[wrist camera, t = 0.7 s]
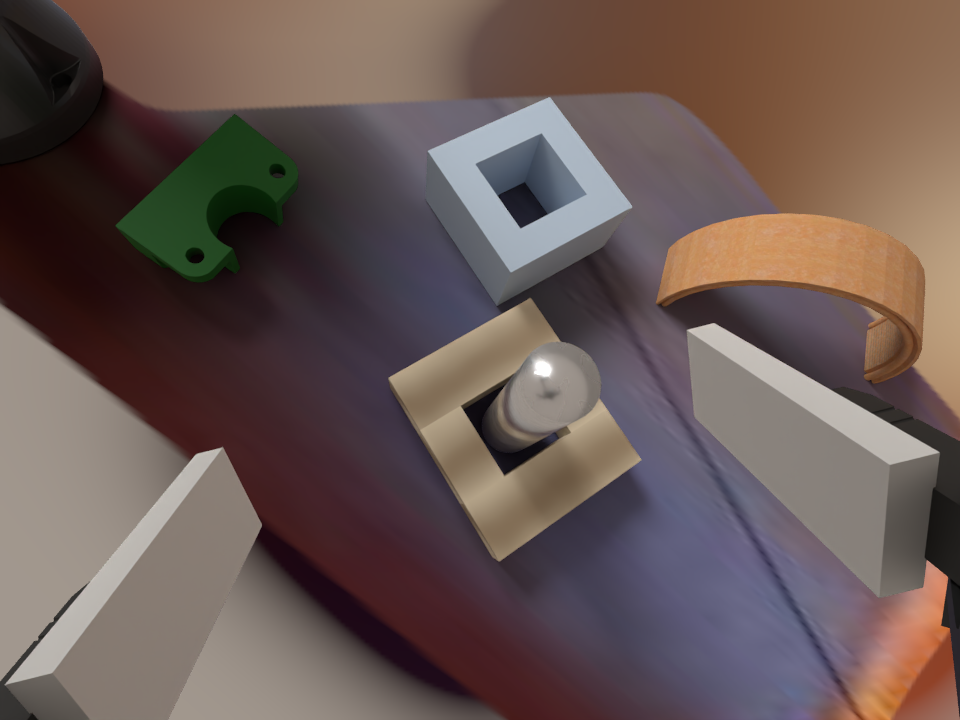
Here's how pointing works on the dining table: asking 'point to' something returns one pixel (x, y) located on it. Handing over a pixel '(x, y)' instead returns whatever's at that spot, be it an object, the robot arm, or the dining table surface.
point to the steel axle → (542, 397)
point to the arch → (812, 273)
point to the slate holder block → (551, 178)
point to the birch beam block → (466, 460)
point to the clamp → (210, 201)
